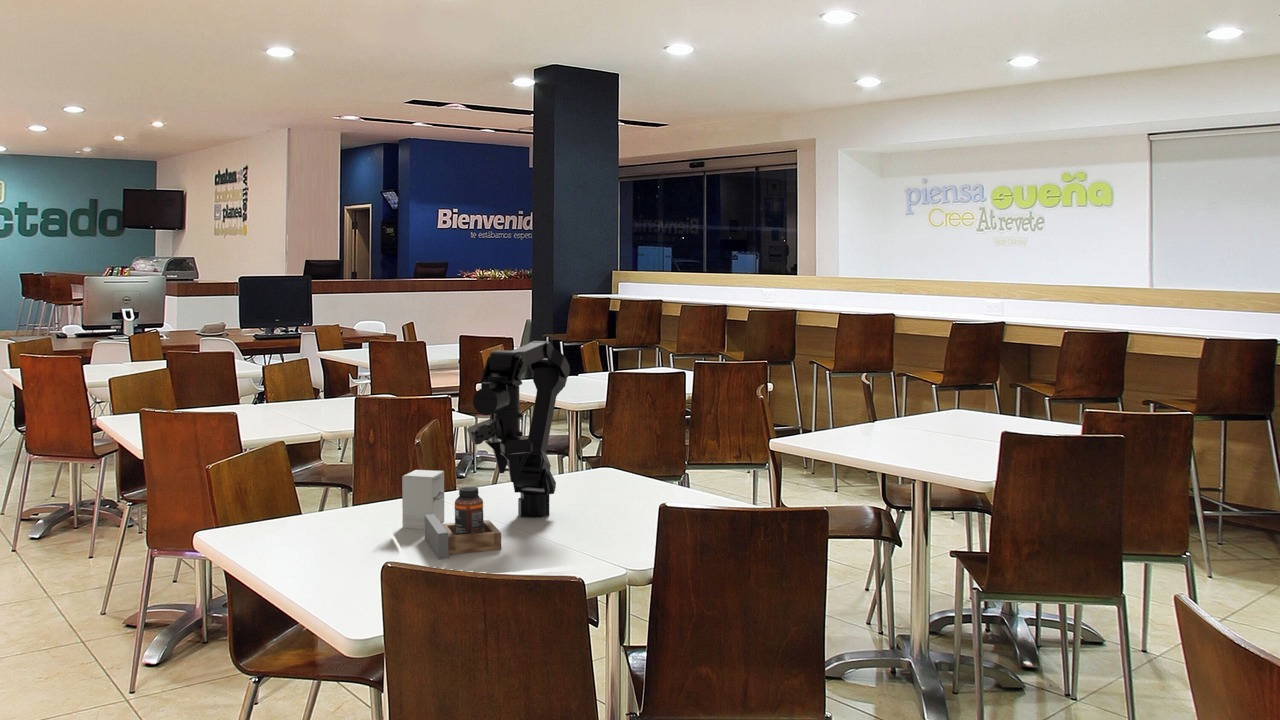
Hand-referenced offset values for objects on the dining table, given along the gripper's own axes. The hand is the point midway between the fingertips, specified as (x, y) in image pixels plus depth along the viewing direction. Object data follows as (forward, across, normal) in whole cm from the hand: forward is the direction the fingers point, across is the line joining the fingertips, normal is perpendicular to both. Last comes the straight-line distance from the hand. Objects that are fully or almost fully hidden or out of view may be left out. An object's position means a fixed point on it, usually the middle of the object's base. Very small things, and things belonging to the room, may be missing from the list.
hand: (507, 477), depth 221 cm
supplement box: (+13, -12, -16) cm, 24 cm away
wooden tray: (+12, +8, -11) cm, 18 cm away
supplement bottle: (+11, +8, -11) cm, 18 cm away
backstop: (+12, +9, -8) cm, 17 cm away
